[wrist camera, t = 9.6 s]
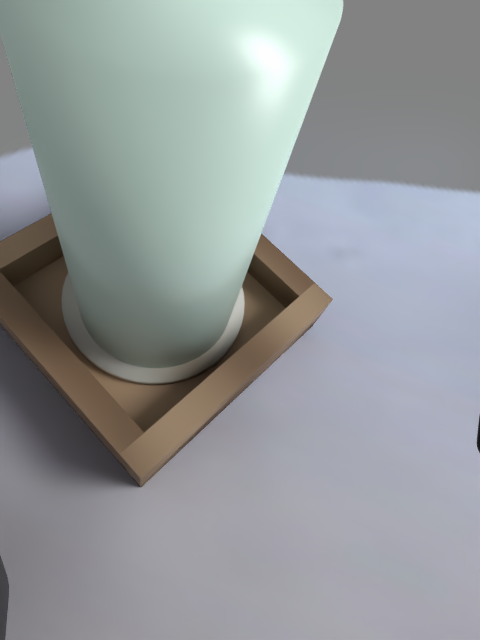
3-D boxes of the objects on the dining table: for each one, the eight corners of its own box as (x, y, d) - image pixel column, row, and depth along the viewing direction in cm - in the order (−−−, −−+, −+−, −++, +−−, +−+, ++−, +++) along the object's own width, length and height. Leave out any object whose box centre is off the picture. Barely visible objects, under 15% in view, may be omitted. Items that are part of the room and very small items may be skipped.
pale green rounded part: (191, 395, 17) (269, 140, 6) (46, 324, 17) (-120, -42, 6) (253, 274, 20) (380, -44, 9) (128, 214, 20) (108, -166, 9)
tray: (141, 487, 17) (140, 478, 14) (-21, 300, 18) (-44, 266, 16) (312, 326, 21) (332, 299, 19) (166, 188, 23) (168, 148, 20)
